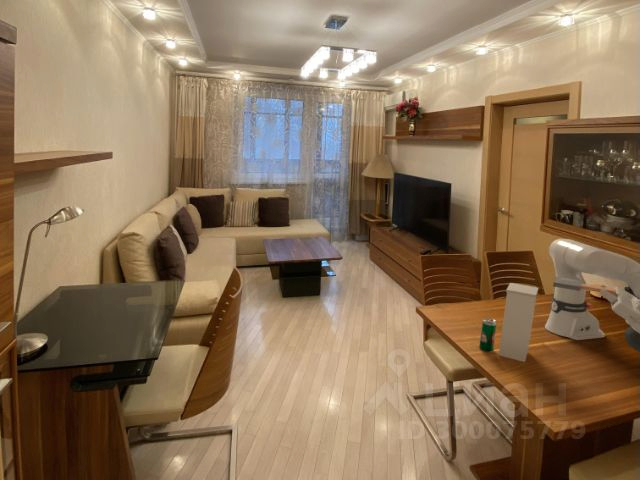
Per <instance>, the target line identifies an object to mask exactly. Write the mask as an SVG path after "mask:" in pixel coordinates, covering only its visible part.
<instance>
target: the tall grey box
mask: <svg viewBox="0 0 640 480" xmlns="http://www.w3.org/2000/svg"><path fill="white" fill-rule="evenodd" d="M505 291H506V292H505V293H506V298H505V306H504V312H503V313H504V314H503V321H502V328H501V335H500V337H501V338H500V343H499V350H498V356H501V357H504V358H507V359H511V360H515V361H520V362H523V363H525V362H526V360H527V357H528V353H529V348H530V341H531V335H532V334H531V333H532V326H533V321H534V313H535V308H536V301H537V295H538V291H539V287H536V286H531V285H525V284H520V283H513V282H510V283H509V284H508V286H507V288H506V290H505Z"/></svg>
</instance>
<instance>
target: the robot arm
mask: <svg viewBox="0 0 640 480" xmlns="http://www.w3.org/2000/svg"><path fill="white" fill-rule="evenodd" d="M548 254H549V256H550V257H551V259H552V262H553V265H554V272H555V277H561V278H567V279H574V280H580V281H581V283H582V284H587V282H586V280H585V278H584V277H583V276H584V275H583V274H582V273H584V274H588V275H593V276H598V277H601V278H605V279H609V280H611V281H612V280H613V281H616V282H620V283H623V284H625V285H627V286H625V287H624V289H623V288H621V287H619V286H615V287H613V289H616V295H613V294H611V293H609V292H608V291H607V290H606V289H604V288H602V289H601V290H600V292H599V294H600V295H602V296H603V297H604V298H605V299H606V300H608V302H610V306H611V310H612V311H613V312H614V313H615V314H616V315H618V316H619V317H621V318H622V319H624V320H625V323H626V324H628V325H629V327H628V328H627V329H625V330H624V337H625V340H626V343H627V344H628V345H629V346H630V348H631V349H633V350H635V351H636V352H638V353H640V263H639V262H637V261H636V260H634V259H632V258H630V257H628V256H625V255H623V254H619V253H615V252H613V251H608V250H606V249H602V248H599V247H595V246H592V245H589V244H586V243H583V242H580V241H577V240H573V239H570V238H557V239H555V240H553V241H552V242H551V243H550V245H549V246H548ZM599 286H600V287H606V288H609V287H608V286H606V285H604V284H601V285H599ZM586 293H587V290H583V289H580V291H577V290H571V289H565V288H559V287H554V295H553V296H552V299H551V300H552V301H551V305H550V306H551V309H550V312H549V313H550V314H549V316H548V319H547V321H546V323H545V324H544V327H545V329H546V330H547V331H548V332H550V333H553V334H555V335H557V336H562V337H567V338H569V339H571V340H576V341H583V340H592V339H601V338H605V337H606V335H605V332H604V331H603V330H602V329H600V322H599V320H598V319H597V318H596V317H595V316H594V315H593V314H591V313H590V311H588V310H587V309H589V310H591V309H593V307H594V305H593V304H592V303H590V302H586V301H585V298H586Z"/></svg>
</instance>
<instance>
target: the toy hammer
mask: <svg viewBox="0 0 640 480" xmlns="http://www.w3.org/2000/svg"><path fill="white" fill-rule="evenodd" d="M552 284H553V285H552V287H554V288H555V287H559V288H565V289H571V290H577V291H580V289H583V290H586V291H590V292H596V293H600V290H601V289H602V288H604V289H606V290H607V291H608V292H609V293H611V294H613V295H616V289H614V288H611V287H608V288H606V287H607V286H606V287H600V286H601V285H592V284H587V283H586V284H582V283H581V281H580V280H574V279H567V278H561V277H556V276H554V281H553V283H552Z"/></svg>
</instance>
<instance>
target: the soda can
mask: <svg viewBox="0 0 640 480" xmlns="http://www.w3.org/2000/svg"><path fill="white" fill-rule="evenodd" d="M481 323H482V324H481V332H480V338H479V346H478V347H479V349H480V351H482V352H484V353H485V352H486V353H491V352H493V350H494V348H495V347H494V346H495V340H496V332H497V322H496V319H493V318H491V317H490V318H489V317H488V318H487V317H486V318H484V319H483V321H482V322H481Z"/></svg>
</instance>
